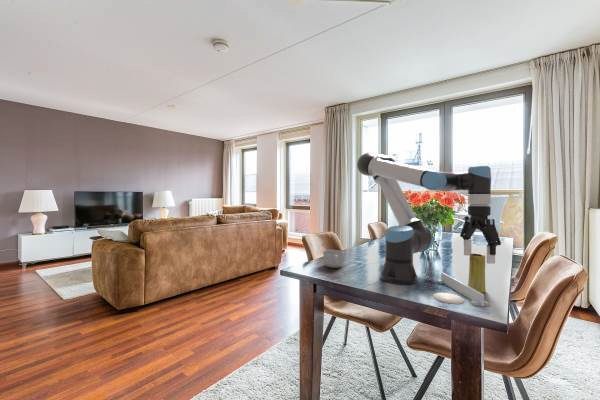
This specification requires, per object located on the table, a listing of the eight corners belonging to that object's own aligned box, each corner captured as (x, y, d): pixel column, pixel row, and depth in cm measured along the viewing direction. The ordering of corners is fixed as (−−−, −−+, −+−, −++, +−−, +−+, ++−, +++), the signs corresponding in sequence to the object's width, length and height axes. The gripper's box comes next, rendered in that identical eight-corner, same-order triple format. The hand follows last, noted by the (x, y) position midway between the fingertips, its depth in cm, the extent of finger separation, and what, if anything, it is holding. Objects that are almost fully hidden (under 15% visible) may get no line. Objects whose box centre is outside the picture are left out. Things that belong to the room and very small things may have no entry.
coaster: (442, 304, 97) (442, 303, 97) (428, 293, 107) (428, 292, 107) (470, 303, 97) (470, 303, 97) (453, 293, 107) (453, 292, 107)
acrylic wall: (475, 306, 95) (475, 294, 95) (436, 281, 121) (436, 272, 121) (489, 306, 95) (490, 294, 95) (447, 281, 121) (447, 272, 121)
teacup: (323, 263, 151) (323, 248, 150) (344, 264, 149) (344, 249, 149) (322, 270, 137) (322, 254, 137) (344, 271, 135) (344, 255, 135)
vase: (463, 288, 113) (464, 253, 112) (476, 287, 114) (477, 252, 114) (476, 293, 107) (477, 257, 106) (489, 292, 108) (490, 256, 108)
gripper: (513, 206, 97) (512, 267, 98) (468, 204, 122) (467, 252, 122) (492, 206, 97) (491, 267, 97) (451, 204, 122) (451, 252, 122)
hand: (478, 259), depth 110 cm, fingers open, 13 cm apart
